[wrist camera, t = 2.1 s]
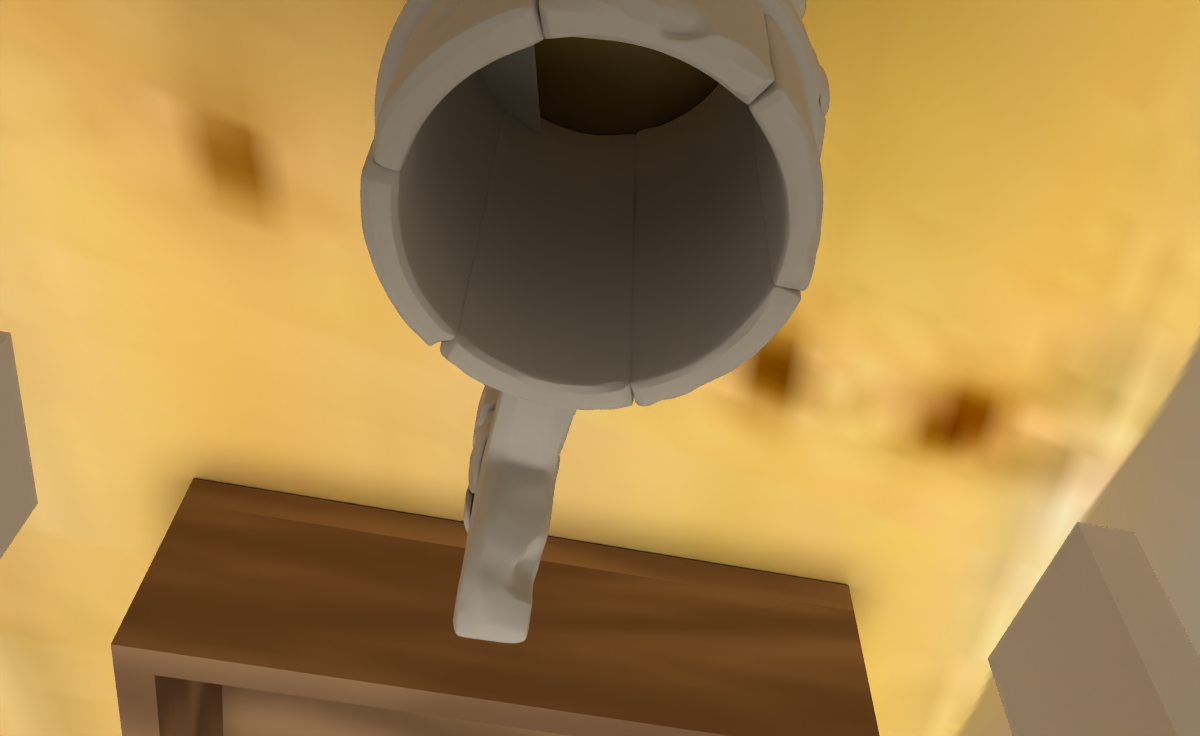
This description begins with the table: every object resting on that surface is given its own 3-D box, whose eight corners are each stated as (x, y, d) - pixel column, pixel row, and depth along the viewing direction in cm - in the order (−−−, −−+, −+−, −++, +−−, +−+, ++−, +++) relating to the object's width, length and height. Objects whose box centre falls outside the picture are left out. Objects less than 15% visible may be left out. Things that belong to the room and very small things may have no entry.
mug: (850, -142, 20) (1037, 105, 11) (673, 338, 27) (691, 750, 18) (461, -258, 19) (288, -97, 10) (380, 271, 26) (232, 667, 17)
